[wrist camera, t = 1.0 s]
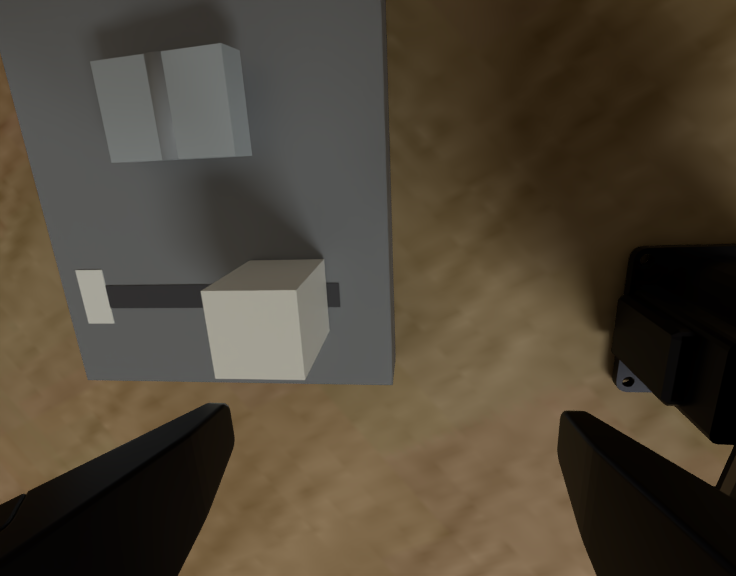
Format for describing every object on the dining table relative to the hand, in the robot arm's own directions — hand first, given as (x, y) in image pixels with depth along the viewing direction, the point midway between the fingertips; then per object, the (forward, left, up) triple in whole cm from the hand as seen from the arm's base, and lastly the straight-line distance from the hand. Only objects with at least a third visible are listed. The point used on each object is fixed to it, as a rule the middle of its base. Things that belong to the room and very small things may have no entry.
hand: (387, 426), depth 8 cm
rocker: (+7, -7, -7) cm, 13 cm away
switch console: (+8, -7, -11) cm, 15 cm away
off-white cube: (+5, 0, -8) cm, 9 cm away
